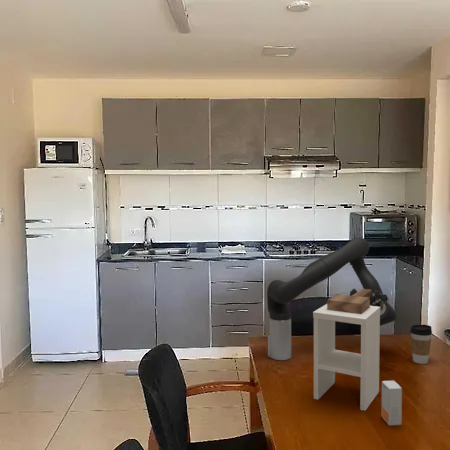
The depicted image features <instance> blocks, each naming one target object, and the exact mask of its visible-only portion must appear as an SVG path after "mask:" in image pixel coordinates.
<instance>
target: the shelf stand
mask: <svg viewBox="0 0 450 450" xmlns="http://www.w3.org/2000/svg"><path fill="white" fill-rule="evenodd" d="M312 315H313V316H312V318H313V399H314V400H317V401H319V400H320V399H321V398H322V396H323V395H324V394H325V393H326V392H327V391H329V389H330V388H331V387H333V385H334V384H335V382H336V373H338V374H343V375H348V376H353V377H359V378H360V389H359V390H360V395H359V396H360V397H359V399H360V401H359V403H360V404H359V405H360V406H359V409H360V411H363V410H364V411H363V412H365V411H366V410H367V409H368V408H369V406H370V405H371V404H372V402H373V400H374V399H375V398H376V397H377V395H378V394H379V392H380V340H381V338H380V334H381V331H380V330H381V329H380V328H381V327H380V307H377V306H370V308H368V309H367V310H366V311H365V312H363V313H362V314H356V313H349V312H341V311H334V310H327V303H326V304H324V305H322V306H320V307H319V308H317V309H315V311H312ZM336 322H340V323H346V324H353V325H354V324H355V325H360V353H358V352H357V353H356V352H351V351H347V350H339V349H336Z"/></svg>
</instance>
